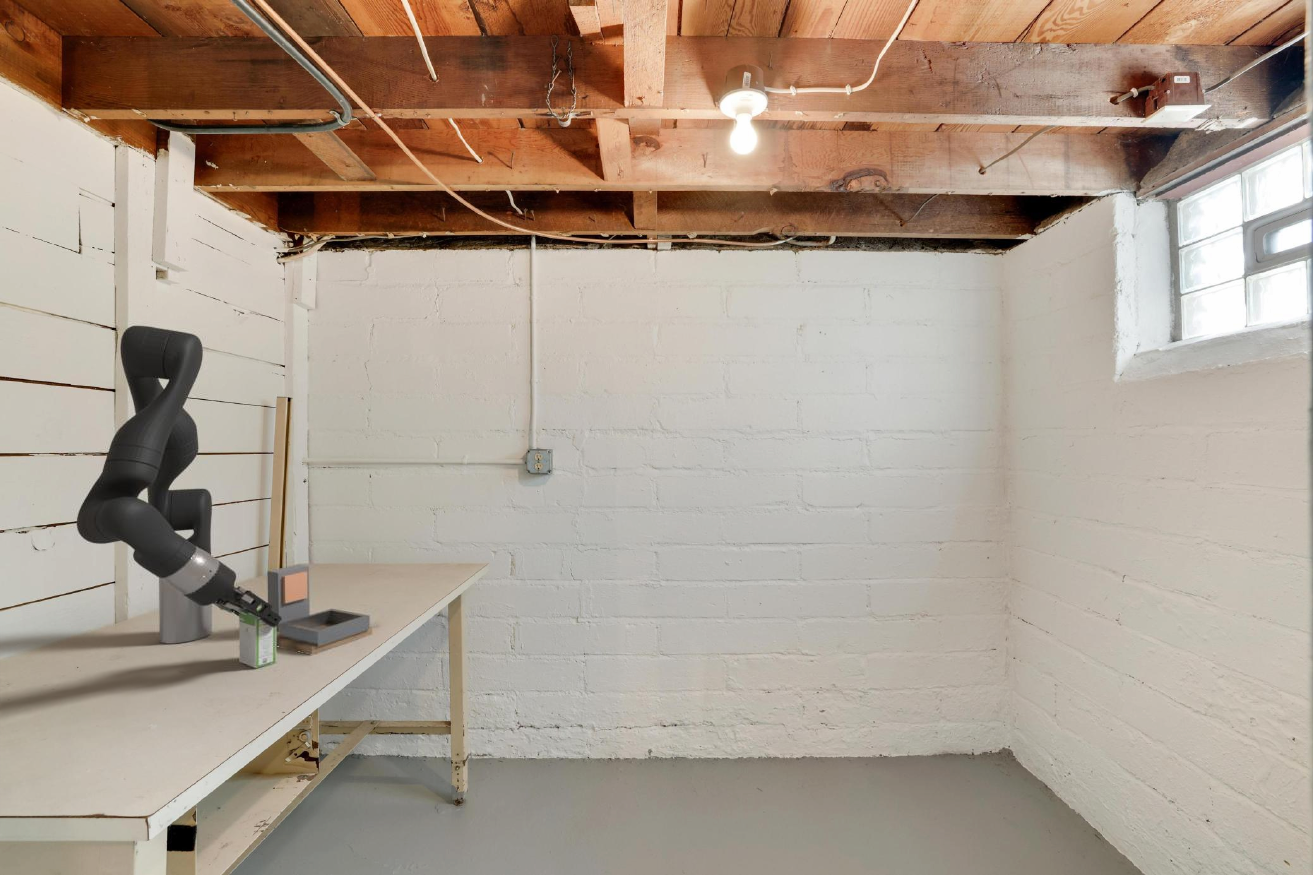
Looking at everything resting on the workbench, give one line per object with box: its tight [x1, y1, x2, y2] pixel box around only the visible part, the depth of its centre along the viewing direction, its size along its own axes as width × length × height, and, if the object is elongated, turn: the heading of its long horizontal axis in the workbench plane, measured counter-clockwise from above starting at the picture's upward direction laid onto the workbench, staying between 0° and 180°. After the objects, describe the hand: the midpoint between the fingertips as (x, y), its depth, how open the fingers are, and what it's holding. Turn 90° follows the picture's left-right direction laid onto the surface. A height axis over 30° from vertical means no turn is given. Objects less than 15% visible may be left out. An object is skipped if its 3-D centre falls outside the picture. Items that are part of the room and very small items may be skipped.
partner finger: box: [267, 564, 311, 631], centre depth 133 cm, size 5×7×13 cm
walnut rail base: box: [276, 623, 373, 655], centre depth 130 cm, size 22×14×2 cm, turn 64°
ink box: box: [238, 607, 277, 669], centre depth 115 cm, size 7×4×13 cm, turn 58°
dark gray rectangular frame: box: [280, 608, 371, 646], centre depth 129 cm, size 19×12×3 cm, turn 64°
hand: (264, 620), depth 116 cm, fingers open, 8 cm apart
